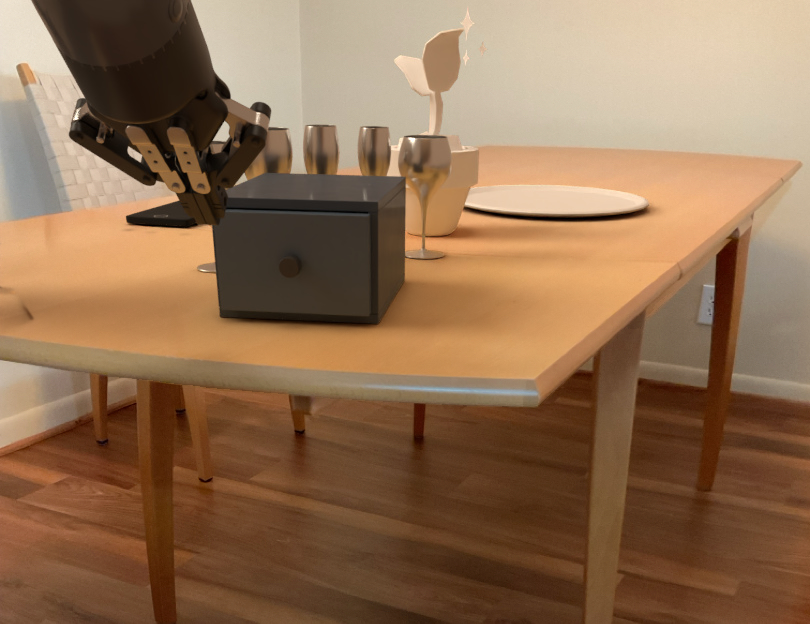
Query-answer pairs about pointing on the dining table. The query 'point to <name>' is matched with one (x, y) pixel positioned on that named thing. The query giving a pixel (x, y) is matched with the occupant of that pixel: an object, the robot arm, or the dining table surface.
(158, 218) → the cell phone
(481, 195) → the plate
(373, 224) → the cabinet
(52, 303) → the dining table surface
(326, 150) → the goblet set
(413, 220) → the potted plant
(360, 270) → the drawer
